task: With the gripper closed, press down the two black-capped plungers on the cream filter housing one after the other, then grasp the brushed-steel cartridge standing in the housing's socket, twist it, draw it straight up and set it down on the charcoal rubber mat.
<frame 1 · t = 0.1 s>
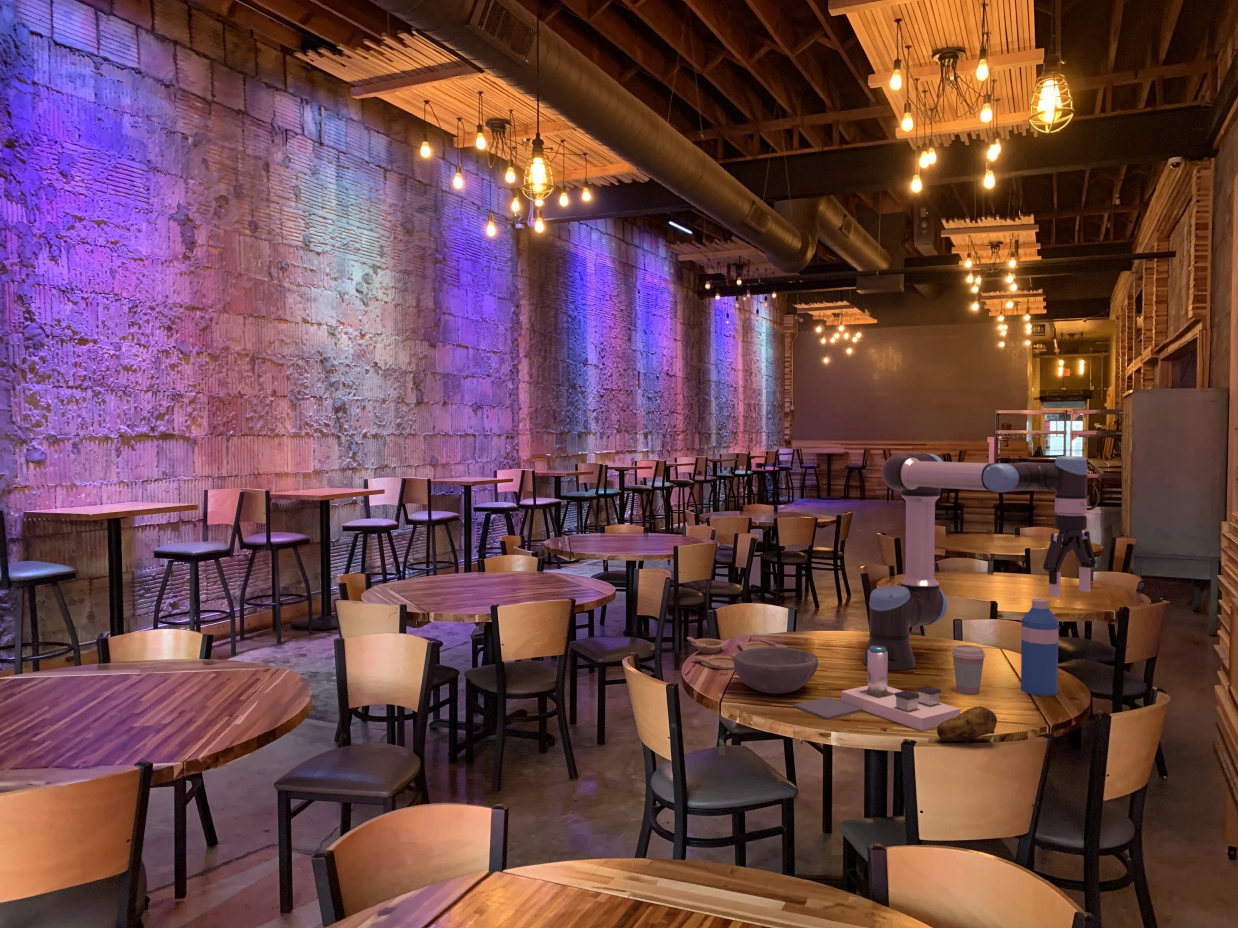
hand: (1069, 593, 229), 28 cm above the table, fingers open, 13 cm apart
housing: (898, 711, 219), on the table
coffee cup: (967, 692, 236), on the table
water bottle: (1039, 691, 237), on the table
mat: (827, 708, 221), on the table
bowl: (774, 690, 238), on the table
plunger far: (928, 695, 216), point 5 cm above the table, slide at 0.0 cm
tableware set: (741, 657, 276), on the table
potato: (966, 742, 197), on the table
cartridge: (877, 704, 225), resting in housing
plunger near: (907, 700, 212), point 5 cm above the table, slide at 0.0 cm
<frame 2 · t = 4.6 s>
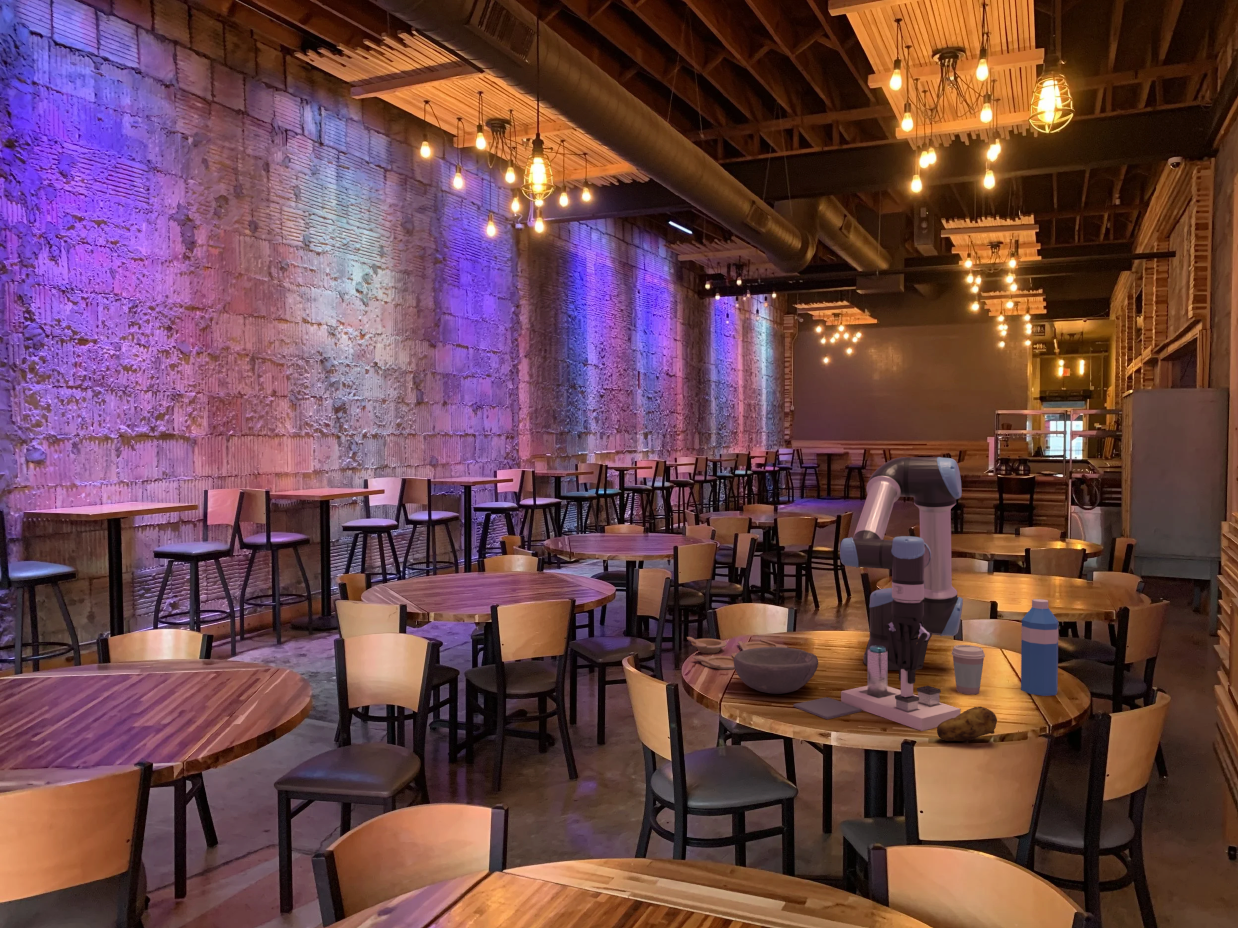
hand: (906, 695, 211), 6 cm above the table, fingers closed
plunger near: (906, 703, 212), point 4 cm above the table, slide at 0.7 cm, touching gripper
everything else where it was.
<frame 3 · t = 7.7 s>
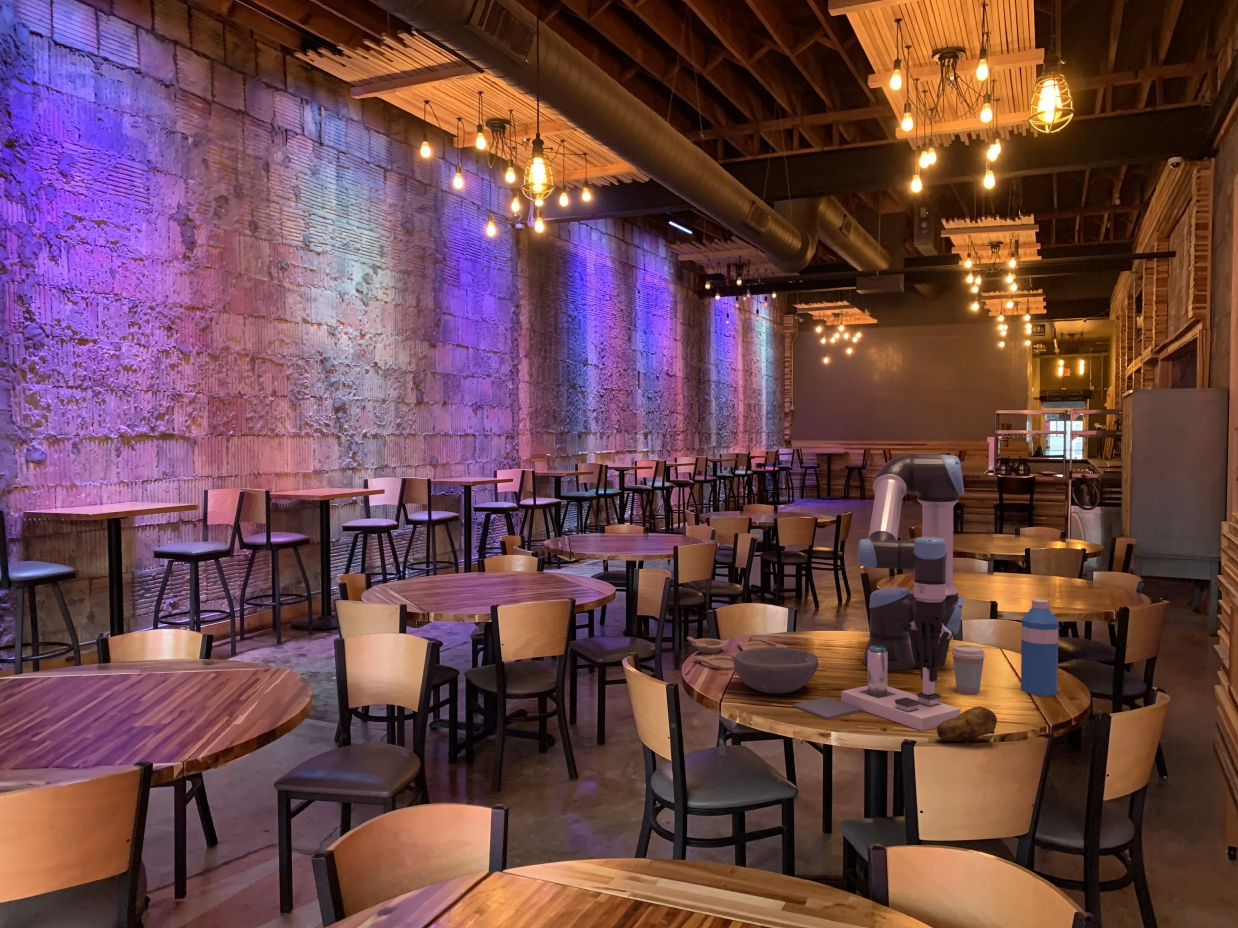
hand: (928, 693, 216), 6 cm above the table, fingers closed
plunger far: (928, 700, 216), point 4 cm above the table, slide at 1.4 cm, touching gripper
plunger near: (906, 707, 212), point 3 cm above the table, slide at 1.8 cm
everything else where it was.
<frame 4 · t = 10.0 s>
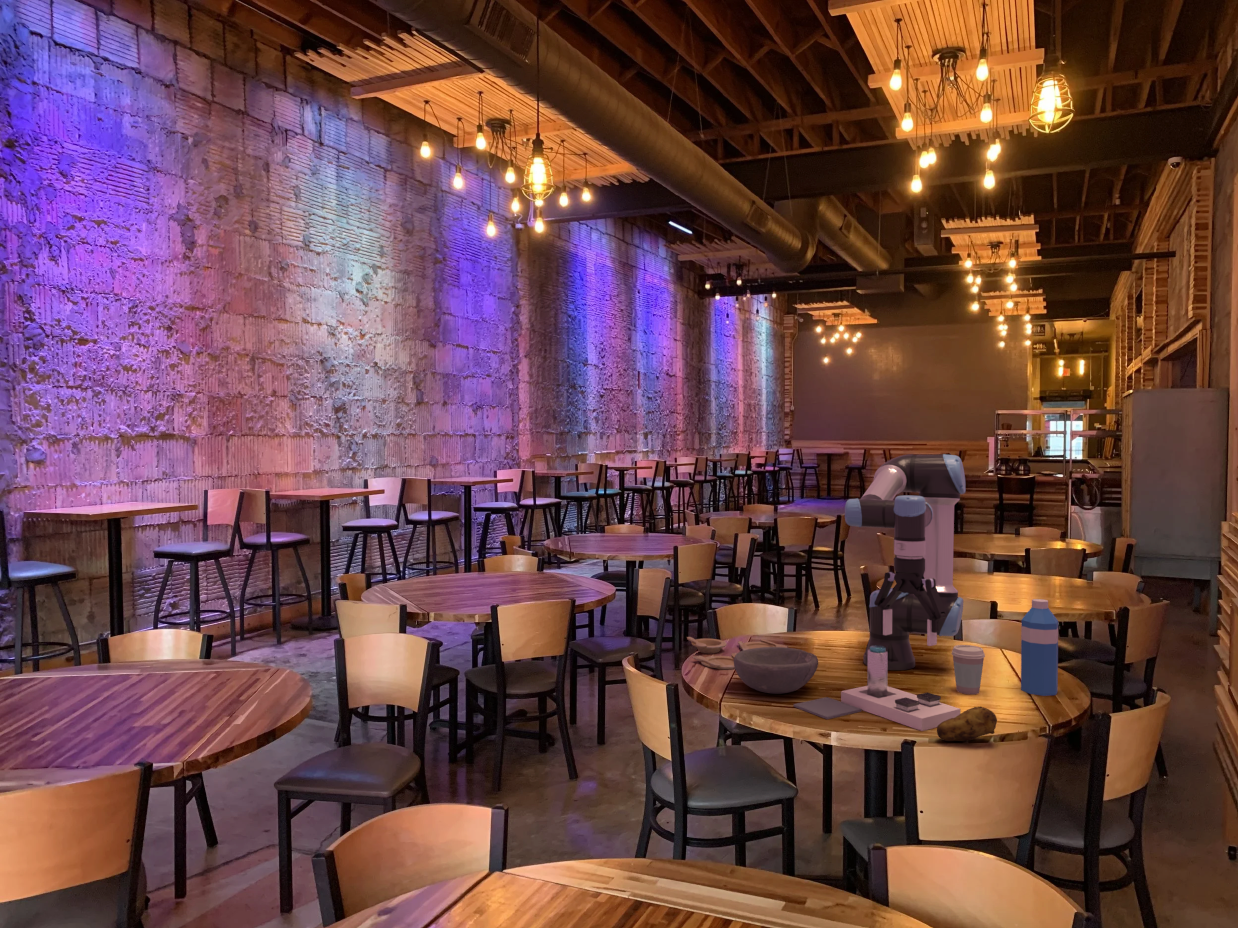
hand: (909, 639, 219), 18 cm above the table, fingers open, 13 cm apart
plunger far: (928, 702, 216), point 3 cm above the table, slide at 1.7 cm
everything else where it was.
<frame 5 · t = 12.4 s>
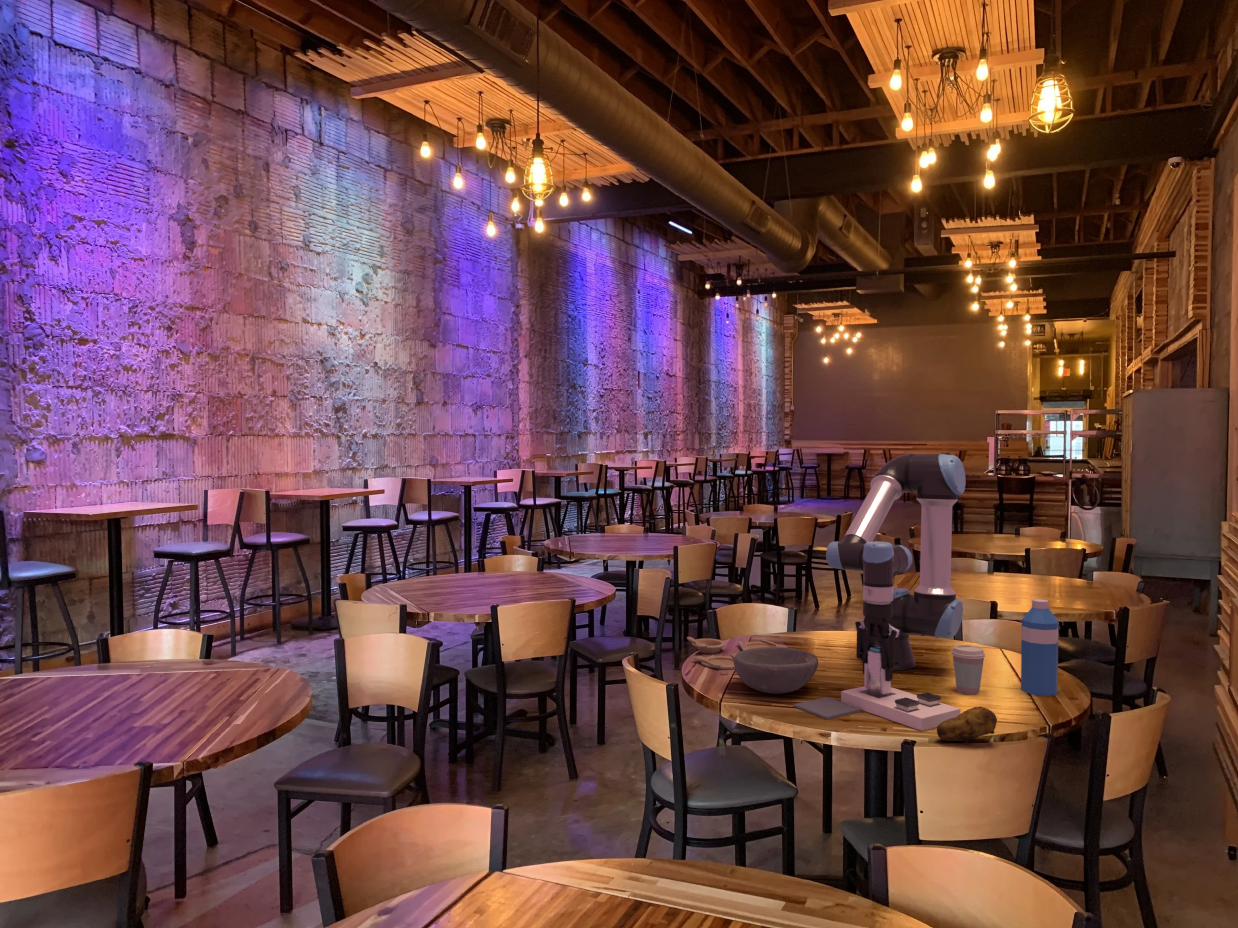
hand: (877, 689, 225), 4 cm above the table, fingers closed on cartridge, 5 cm apart
cartridge: (877, 704, 225), resting in housing, touching gripper
everything else where it was.
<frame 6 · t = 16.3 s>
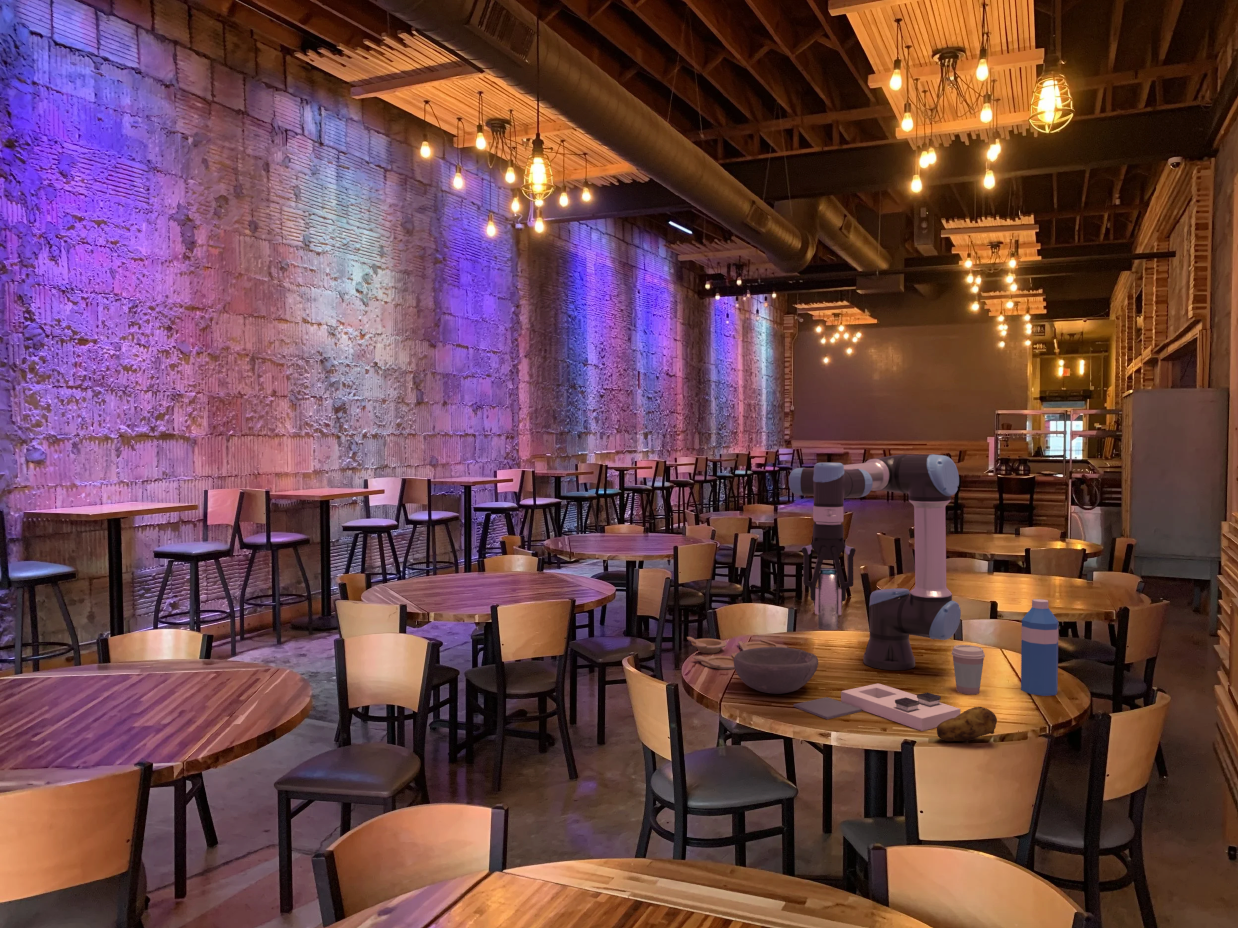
hand: (827, 613, 220), 25 cm above the table, fingers closed on cartridge, 5 cm apart
cartridge: (827, 627, 221), point 21 cm above the table, touching gripper
everything else where it was.
when the fingers open (6 cm above the table, at t = 20.1 s): cartridge drops 1 cm, resting on mat.
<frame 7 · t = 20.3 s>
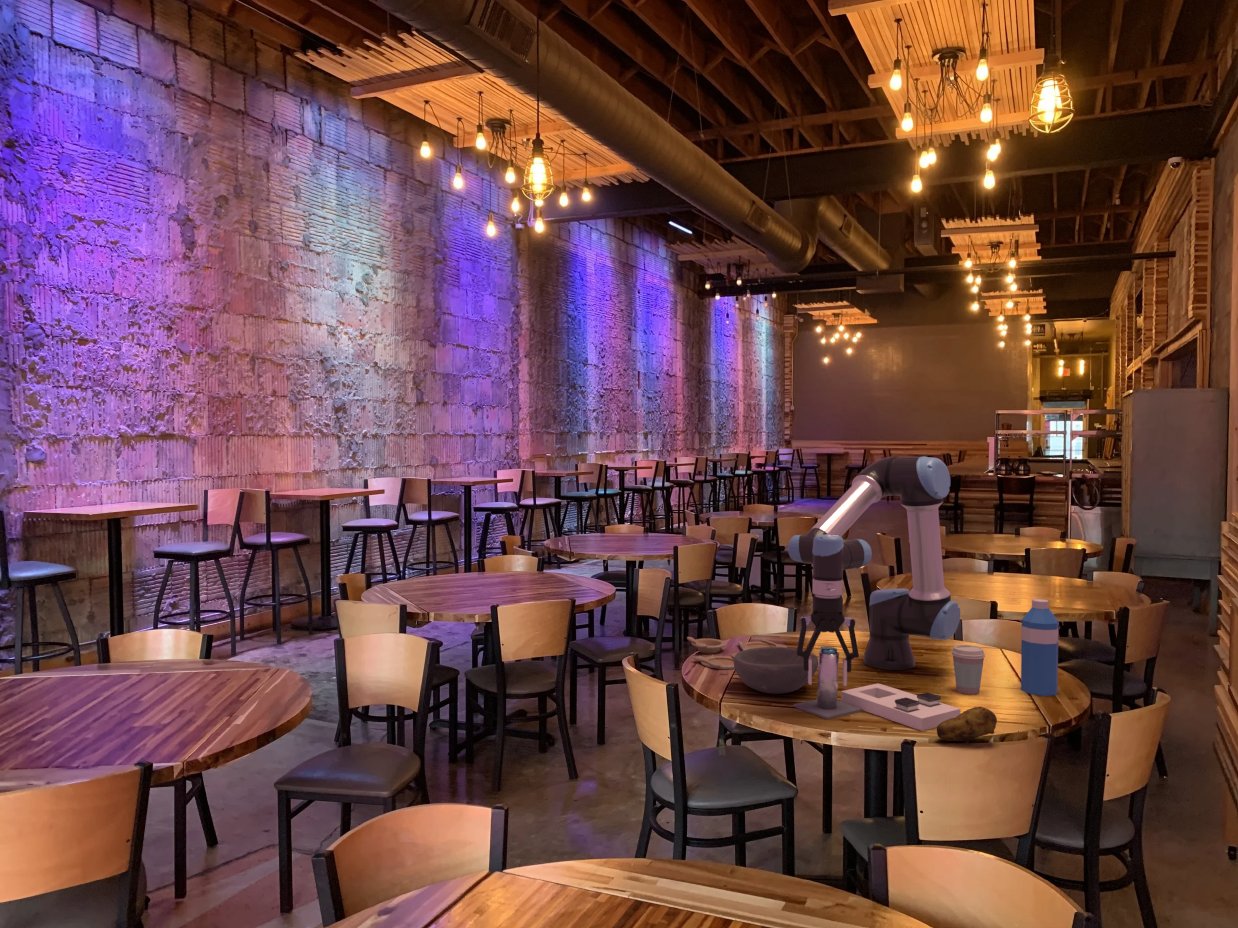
hand: (827, 683, 221), 7 cm above the table, fingers open, 8 cm apart
cartridge: (826, 706, 221), point 1 cm above the table, touching mat
everything else where it was.
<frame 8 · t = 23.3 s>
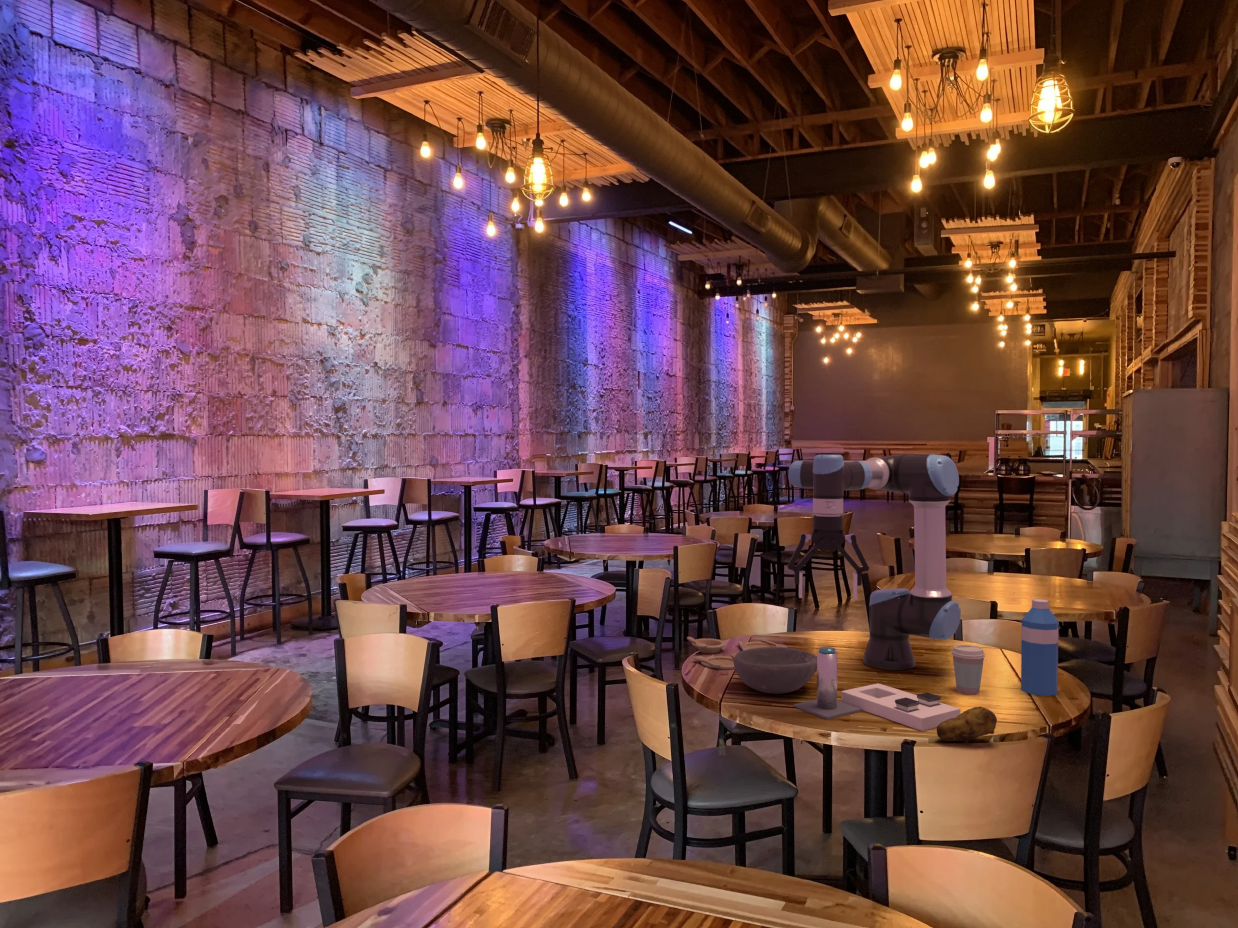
hand: (827, 597, 220), 29 cm above the table, fingers open, 13 cm apart
nothing on the table moved.
at the end: plunger near slide at 1.8 cm; plunger far slide at 1.7 cm; cartridge inside the target area on the mat (0.0 cm from its centre), point 0.6 cm above the mat's base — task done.
